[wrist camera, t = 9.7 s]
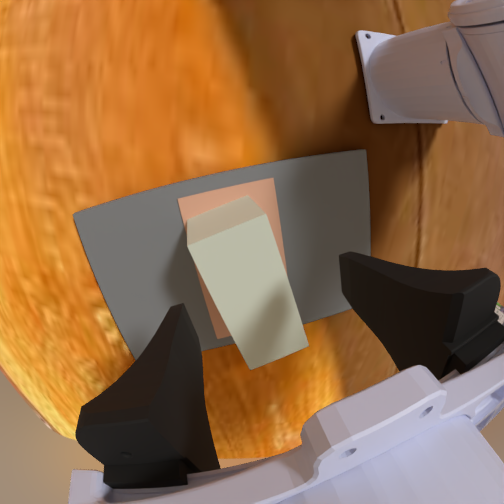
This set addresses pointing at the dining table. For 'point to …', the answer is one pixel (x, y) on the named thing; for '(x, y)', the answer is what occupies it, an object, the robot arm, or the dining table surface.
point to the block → (247, 280)
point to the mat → (207, 198)
